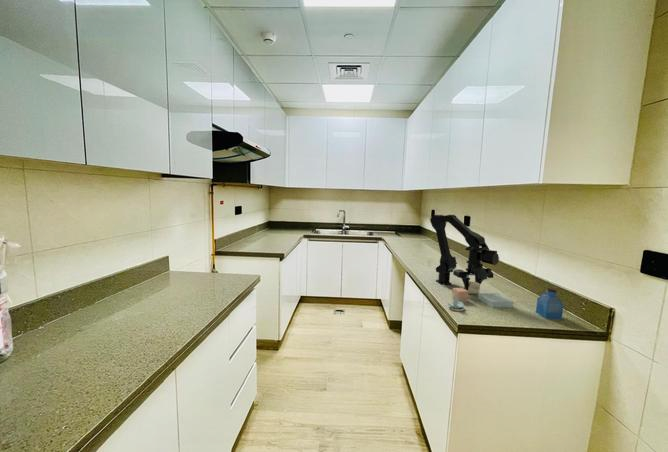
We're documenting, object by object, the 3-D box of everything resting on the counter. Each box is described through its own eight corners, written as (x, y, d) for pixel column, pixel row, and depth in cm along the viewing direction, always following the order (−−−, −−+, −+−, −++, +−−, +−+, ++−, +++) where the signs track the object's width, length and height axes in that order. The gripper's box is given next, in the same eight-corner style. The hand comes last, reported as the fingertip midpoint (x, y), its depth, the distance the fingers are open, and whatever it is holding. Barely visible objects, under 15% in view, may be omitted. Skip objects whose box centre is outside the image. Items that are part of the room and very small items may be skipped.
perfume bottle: (550, 313, 115) (554, 286, 114) (561, 319, 109) (565, 291, 108) (535, 312, 116) (539, 285, 115) (545, 318, 110) (549, 290, 108)
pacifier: (468, 311, 115) (457, 305, 121) (470, 297, 114) (459, 292, 120) (454, 312, 113) (444, 306, 118) (456, 298, 112) (446, 293, 117)
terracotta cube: (451, 297, 129) (452, 287, 129) (461, 297, 130) (462, 287, 129) (457, 301, 124) (458, 291, 124) (467, 301, 125) (468, 291, 124)
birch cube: (463, 290, 139) (464, 280, 139) (472, 289, 140) (473, 280, 139) (469, 293, 134) (470, 284, 134) (479, 293, 135) (480, 284, 134)
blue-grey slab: (477, 299, 129) (478, 293, 129) (496, 299, 130) (497, 293, 130) (491, 308, 119) (492, 301, 119) (512, 307, 121) (513, 301, 120)
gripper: (467, 264, 126) (463, 295, 128) (503, 264, 128) (499, 295, 130) (453, 258, 137) (451, 287, 139) (487, 258, 139) (484, 287, 141)
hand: (471, 289), depth 137 cm, fingers closed on birch cube, 5 cm apart
